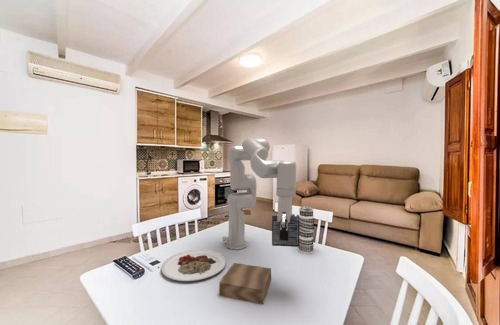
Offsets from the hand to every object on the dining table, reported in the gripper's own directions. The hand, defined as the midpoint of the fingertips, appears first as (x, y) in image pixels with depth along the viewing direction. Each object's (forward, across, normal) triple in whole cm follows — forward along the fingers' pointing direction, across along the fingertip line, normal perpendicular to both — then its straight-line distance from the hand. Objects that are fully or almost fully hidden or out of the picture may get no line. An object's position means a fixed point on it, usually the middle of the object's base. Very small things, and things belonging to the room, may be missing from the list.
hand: (285, 236), depth 86 cm
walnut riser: (+21, +3, -15) cm, 26 cm away
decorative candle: (+22, -39, +8) cm, 46 cm away
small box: (+3, 0, 0) cm, 3 cm away
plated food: (+22, -6, -44) cm, 49 cm away
